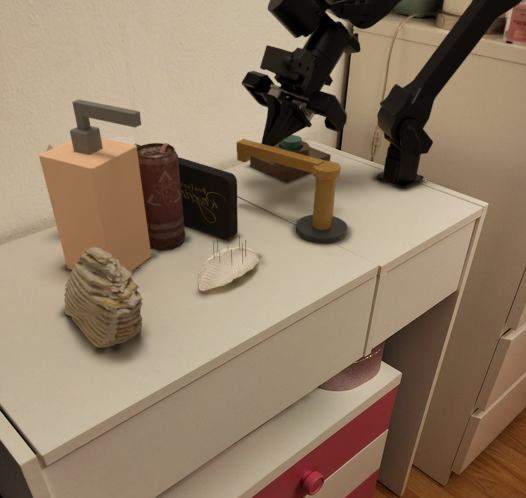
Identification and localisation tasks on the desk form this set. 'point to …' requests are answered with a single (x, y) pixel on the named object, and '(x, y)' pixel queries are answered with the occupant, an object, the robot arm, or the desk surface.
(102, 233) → the soap dispenser
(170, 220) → the can
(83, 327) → the fossil tooth
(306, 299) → the desk surface
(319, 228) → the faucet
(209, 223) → the nameplate
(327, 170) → the spout
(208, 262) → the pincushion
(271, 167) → the button box
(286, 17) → the robot arm
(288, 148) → the button
